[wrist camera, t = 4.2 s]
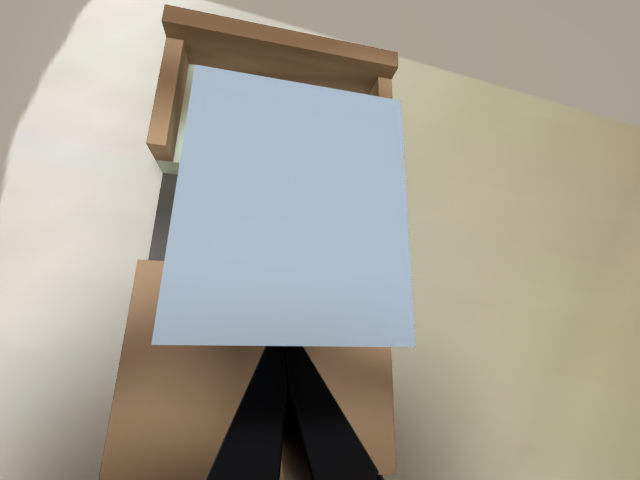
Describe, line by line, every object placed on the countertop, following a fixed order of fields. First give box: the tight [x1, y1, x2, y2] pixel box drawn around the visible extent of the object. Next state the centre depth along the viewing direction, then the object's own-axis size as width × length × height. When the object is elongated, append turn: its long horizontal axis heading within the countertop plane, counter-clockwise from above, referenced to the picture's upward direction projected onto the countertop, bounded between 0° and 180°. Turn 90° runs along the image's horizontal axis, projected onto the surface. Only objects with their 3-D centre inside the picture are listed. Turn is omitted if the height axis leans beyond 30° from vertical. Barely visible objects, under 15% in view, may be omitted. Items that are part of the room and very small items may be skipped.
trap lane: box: [99, 4, 398, 480], centre depth 15 cm, size 21×12×4 cm, turn 179°
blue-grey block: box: [151, 65, 416, 347], centre depth 11 cm, size 6×5×9 cm
